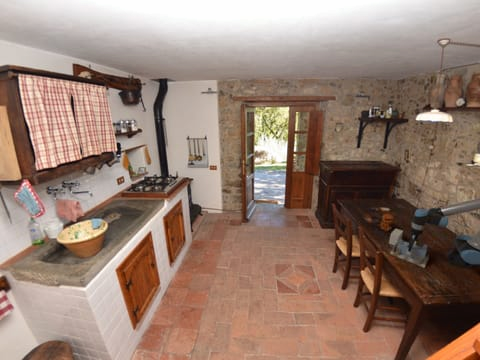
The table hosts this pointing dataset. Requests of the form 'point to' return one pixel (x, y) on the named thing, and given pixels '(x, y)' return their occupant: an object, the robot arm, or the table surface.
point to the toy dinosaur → (386, 222)
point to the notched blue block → (415, 250)
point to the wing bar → (395, 236)
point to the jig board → (418, 262)
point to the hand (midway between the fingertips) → (410, 250)
